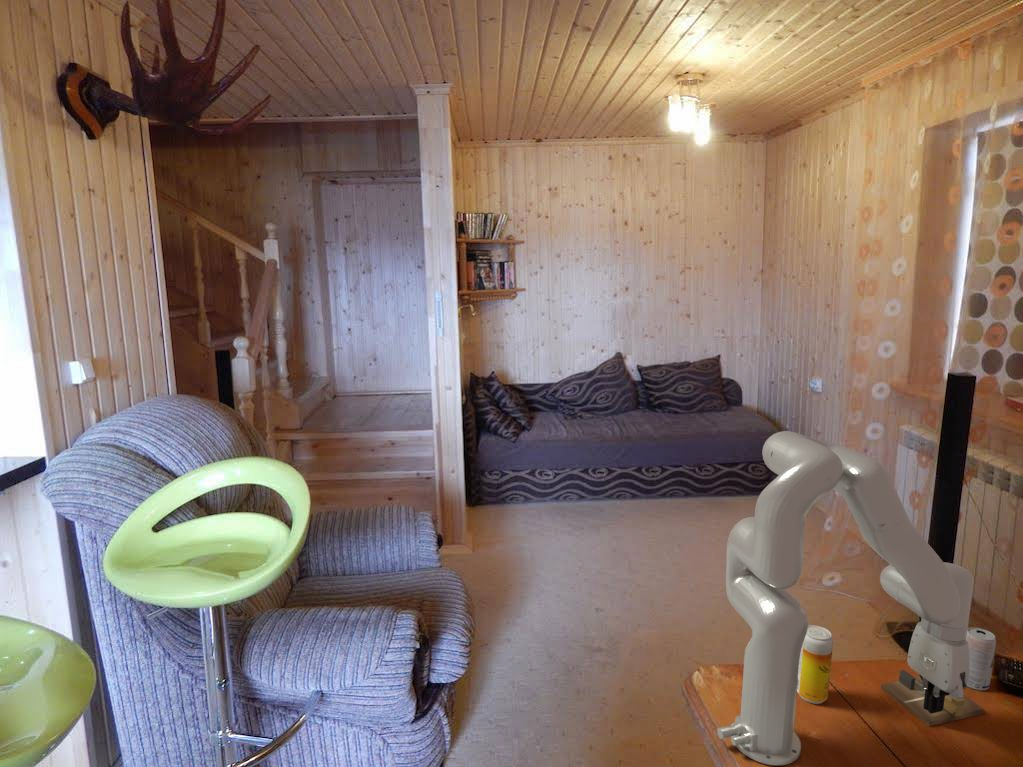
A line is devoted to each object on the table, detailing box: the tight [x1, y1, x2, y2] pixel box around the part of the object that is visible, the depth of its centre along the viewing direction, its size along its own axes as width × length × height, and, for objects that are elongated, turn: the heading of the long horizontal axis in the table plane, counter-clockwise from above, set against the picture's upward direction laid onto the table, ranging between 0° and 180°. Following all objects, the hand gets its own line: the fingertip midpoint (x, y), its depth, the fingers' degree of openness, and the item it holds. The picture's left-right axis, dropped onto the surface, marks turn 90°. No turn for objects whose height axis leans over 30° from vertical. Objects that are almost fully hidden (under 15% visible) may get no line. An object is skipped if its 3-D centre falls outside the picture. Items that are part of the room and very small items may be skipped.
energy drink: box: [966, 626, 997, 692], centre depth 143 cm, size 5×5×12 cm
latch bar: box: [943, 695, 965, 717], centre depth 134 cm, size 5×2×3 cm, turn 15°
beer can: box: [797, 624, 834, 705], centre depth 139 cm, size 6×6×15 cm
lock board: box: [880, 669, 985, 727], centre depth 138 cm, size 14×12×4 cm
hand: (932, 709), depth 132 cm, fingers closed
